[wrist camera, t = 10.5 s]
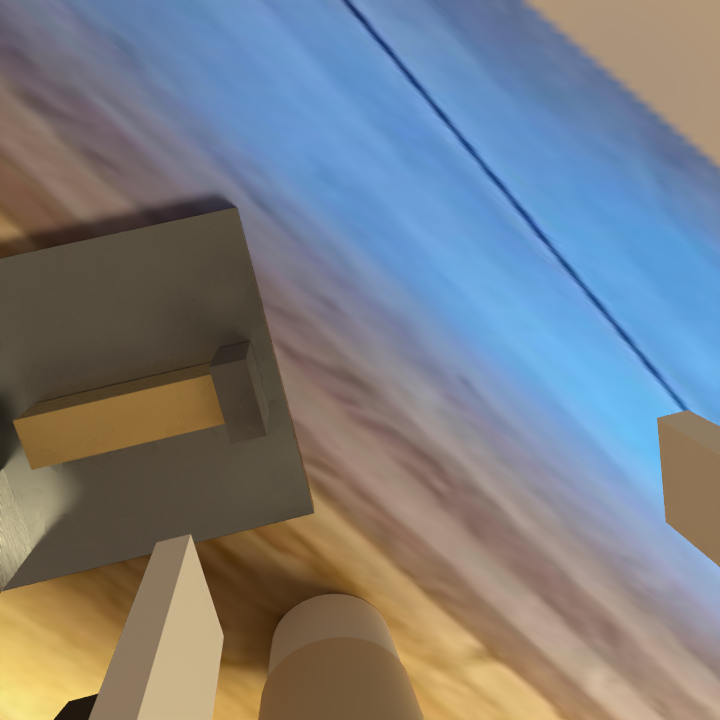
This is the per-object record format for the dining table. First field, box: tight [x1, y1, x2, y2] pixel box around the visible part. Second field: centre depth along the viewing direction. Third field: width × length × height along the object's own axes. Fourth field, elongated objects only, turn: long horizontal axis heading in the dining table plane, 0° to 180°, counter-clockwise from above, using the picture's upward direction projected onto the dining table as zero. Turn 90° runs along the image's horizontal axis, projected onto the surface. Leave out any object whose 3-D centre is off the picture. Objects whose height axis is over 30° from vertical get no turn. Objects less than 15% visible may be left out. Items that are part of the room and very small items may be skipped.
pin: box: [13, 341, 269, 470], centre depth 28 cm, size 11×4×4 cm, turn 102°
